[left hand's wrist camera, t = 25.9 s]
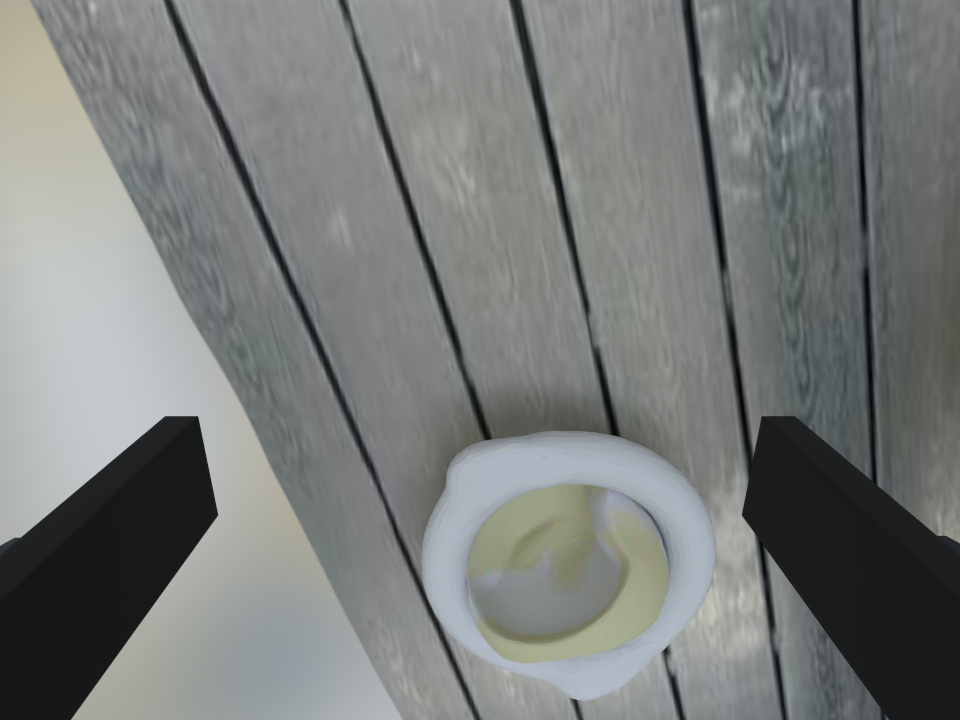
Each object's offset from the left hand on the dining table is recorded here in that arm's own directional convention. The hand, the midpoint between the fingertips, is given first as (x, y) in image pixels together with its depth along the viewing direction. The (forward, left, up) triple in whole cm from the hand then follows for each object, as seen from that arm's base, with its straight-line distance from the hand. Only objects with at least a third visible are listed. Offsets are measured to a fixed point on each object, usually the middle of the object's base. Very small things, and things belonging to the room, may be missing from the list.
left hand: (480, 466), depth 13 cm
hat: (-15, +17, -30) cm, 37 cm away
